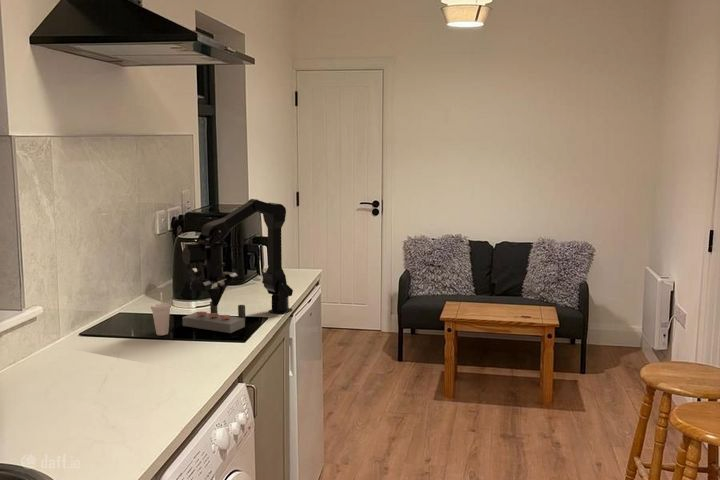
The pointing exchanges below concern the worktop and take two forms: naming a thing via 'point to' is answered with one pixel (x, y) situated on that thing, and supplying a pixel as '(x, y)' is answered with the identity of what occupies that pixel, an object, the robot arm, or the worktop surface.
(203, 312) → the paddle left
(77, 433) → the worktop surface
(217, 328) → the power strip
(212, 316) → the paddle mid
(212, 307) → the peg
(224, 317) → the paddle right
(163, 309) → the smoothie
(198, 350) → the worktop surface
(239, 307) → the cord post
